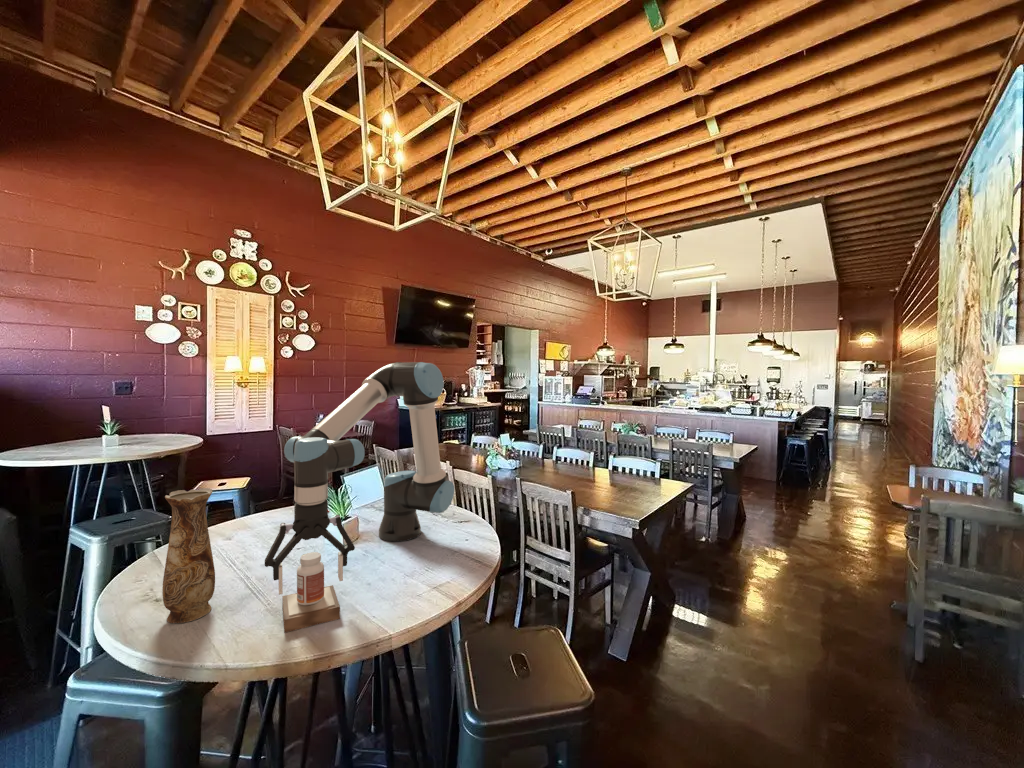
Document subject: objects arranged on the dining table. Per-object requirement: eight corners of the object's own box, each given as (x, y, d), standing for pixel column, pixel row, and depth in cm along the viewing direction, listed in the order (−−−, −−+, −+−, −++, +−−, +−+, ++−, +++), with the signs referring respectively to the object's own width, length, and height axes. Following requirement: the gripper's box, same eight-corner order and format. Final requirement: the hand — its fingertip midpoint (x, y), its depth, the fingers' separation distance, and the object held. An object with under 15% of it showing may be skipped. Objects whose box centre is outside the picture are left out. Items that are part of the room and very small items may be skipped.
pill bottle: (327, 593, 111) (328, 550, 111) (318, 606, 105) (318, 561, 104) (303, 593, 111) (303, 550, 110) (292, 606, 104) (292, 561, 104)
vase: (161, 630, 99) (160, 501, 99) (164, 609, 108) (163, 490, 107) (215, 616, 105) (215, 494, 105) (214, 597, 114) (214, 485, 113)
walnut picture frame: (332, 596, 116) (333, 584, 116) (339, 618, 105) (339, 605, 105) (282, 607, 110) (282, 594, 110) (284, 632, 99) (284, 618, 99)
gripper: (360, 490, 116) (360, 568, 117) (253, 503, 104) (253, 590, 105) (366, 497, 110) (366, 579, 111) (252, 513, 97) (252, 605, 98)
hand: (311, 585), depth 108 cm, fingers open, 13 cm apart
